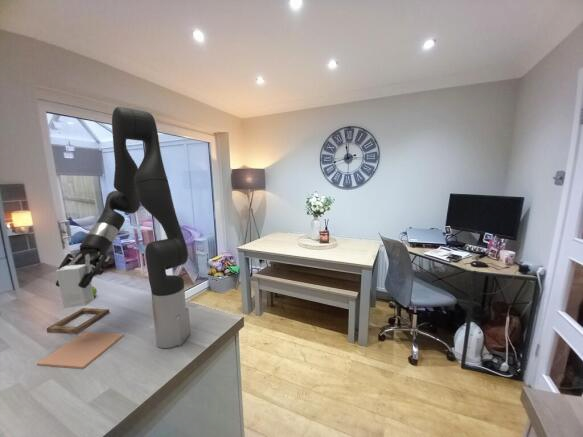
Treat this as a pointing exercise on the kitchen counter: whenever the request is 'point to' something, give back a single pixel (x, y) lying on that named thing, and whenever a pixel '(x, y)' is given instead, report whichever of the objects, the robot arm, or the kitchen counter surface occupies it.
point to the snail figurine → (94, 290)
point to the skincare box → (74, 286)
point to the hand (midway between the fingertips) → (70, 286)
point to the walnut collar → (59, 326)
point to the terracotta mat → (81, 350)
